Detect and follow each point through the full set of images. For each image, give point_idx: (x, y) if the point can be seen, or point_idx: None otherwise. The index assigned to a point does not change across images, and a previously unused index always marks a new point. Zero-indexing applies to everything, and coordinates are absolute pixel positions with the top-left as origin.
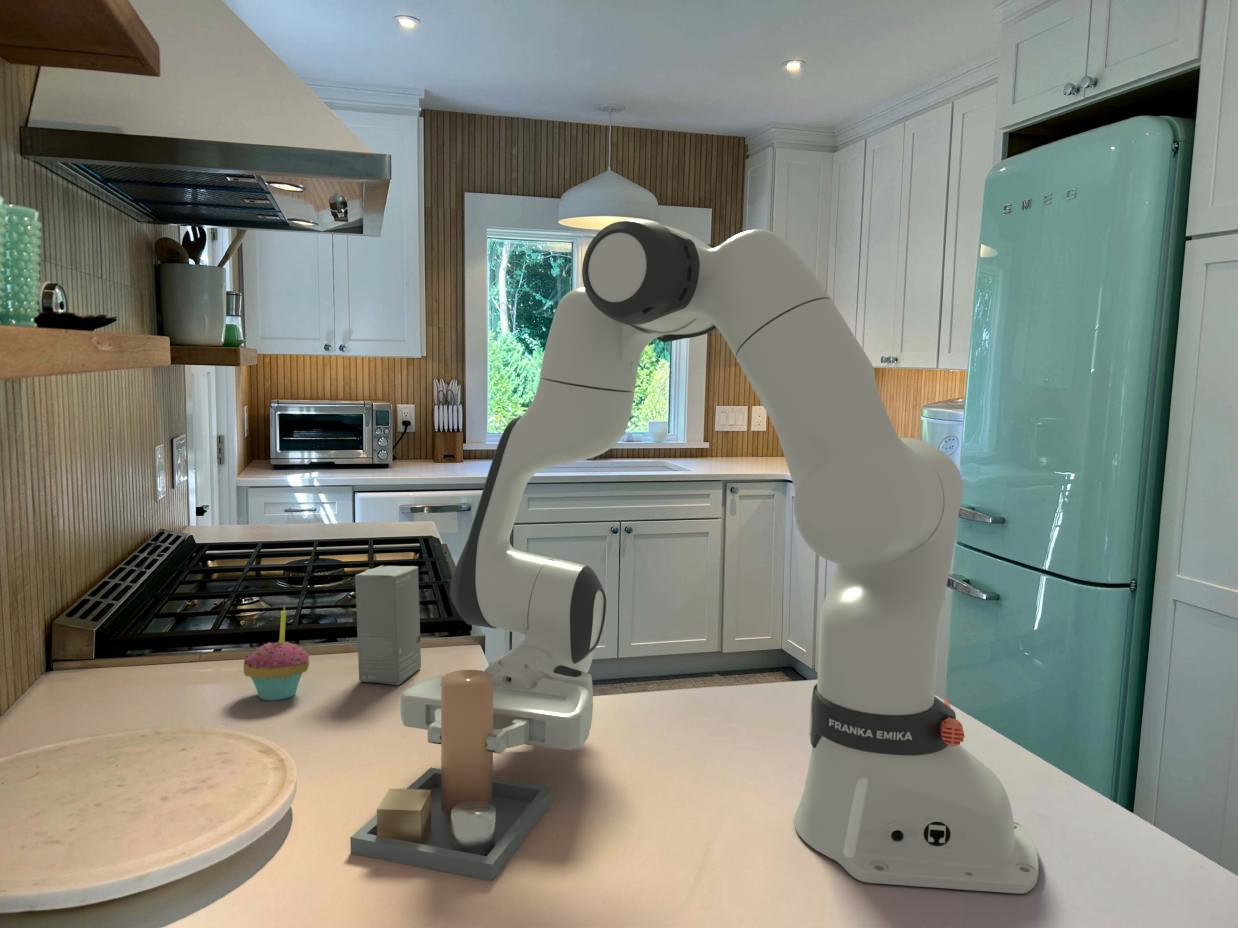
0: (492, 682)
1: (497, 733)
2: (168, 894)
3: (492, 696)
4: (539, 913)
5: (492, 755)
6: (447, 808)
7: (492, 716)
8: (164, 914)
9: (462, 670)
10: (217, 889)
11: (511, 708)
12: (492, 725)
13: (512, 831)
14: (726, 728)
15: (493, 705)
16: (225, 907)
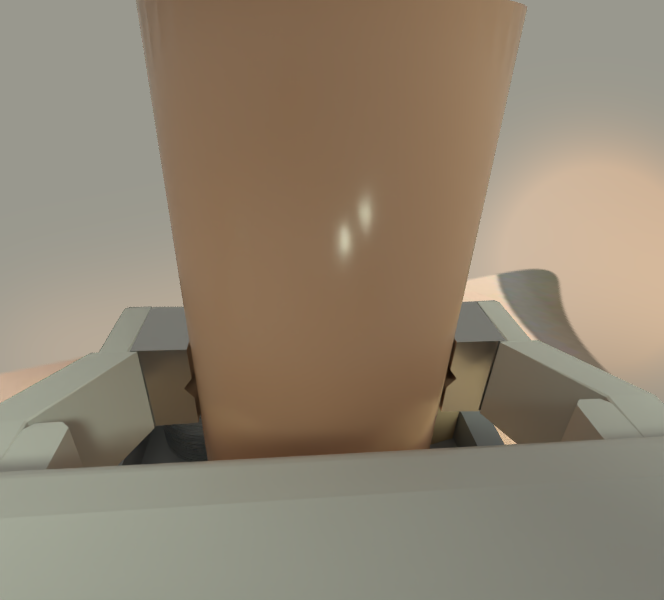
0: (139, 16)
1: (150, 319)
2: (558, 288)
3: (157, 137)
4: (57, 370)
5: (205, 444)
6: None
7: (178, 270)
8: (519, 273)
9: (493, 2)
10: (526, 302)
11: (63, 485)
12: (185, 317)
13: None
14: None
15: (276, 484)
16: (480, 289)
